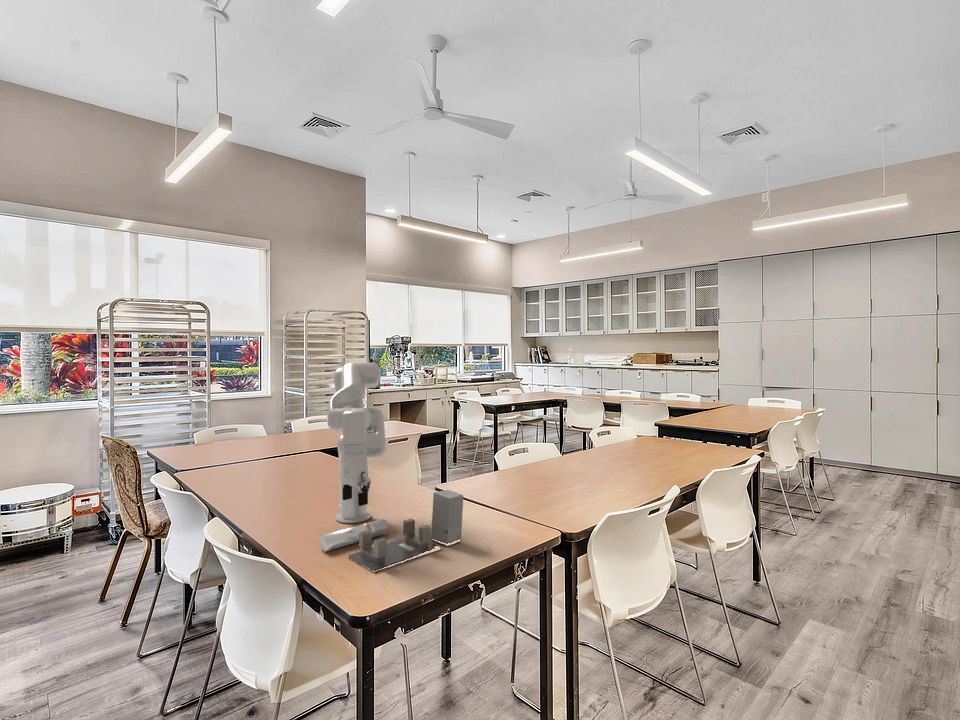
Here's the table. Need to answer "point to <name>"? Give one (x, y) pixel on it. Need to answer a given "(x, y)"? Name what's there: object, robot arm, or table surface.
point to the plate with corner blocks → (393, 547)
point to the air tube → (352, 535)
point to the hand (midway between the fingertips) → (355, 502)
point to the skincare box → (447, 516)
